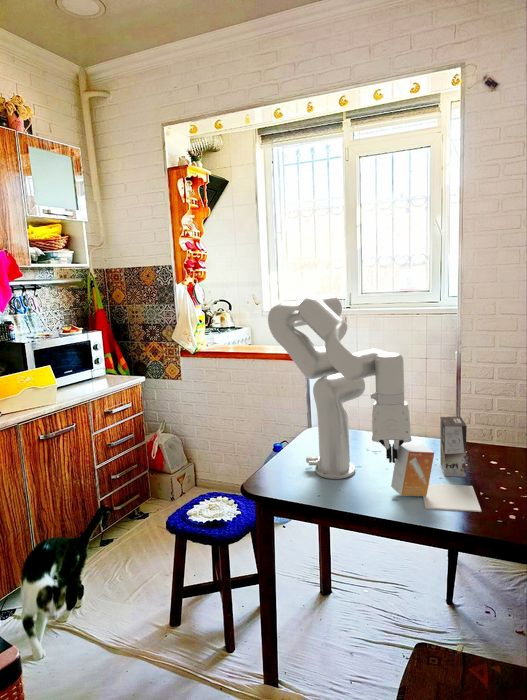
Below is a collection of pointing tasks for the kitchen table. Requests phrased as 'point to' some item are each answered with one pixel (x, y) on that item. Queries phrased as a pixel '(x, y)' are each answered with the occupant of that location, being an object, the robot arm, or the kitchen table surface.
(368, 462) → the kitchen table surface
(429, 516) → the kitchen table surface
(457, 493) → the mat
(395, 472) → the small box
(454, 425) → the coffee box
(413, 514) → the kitchen table surface
